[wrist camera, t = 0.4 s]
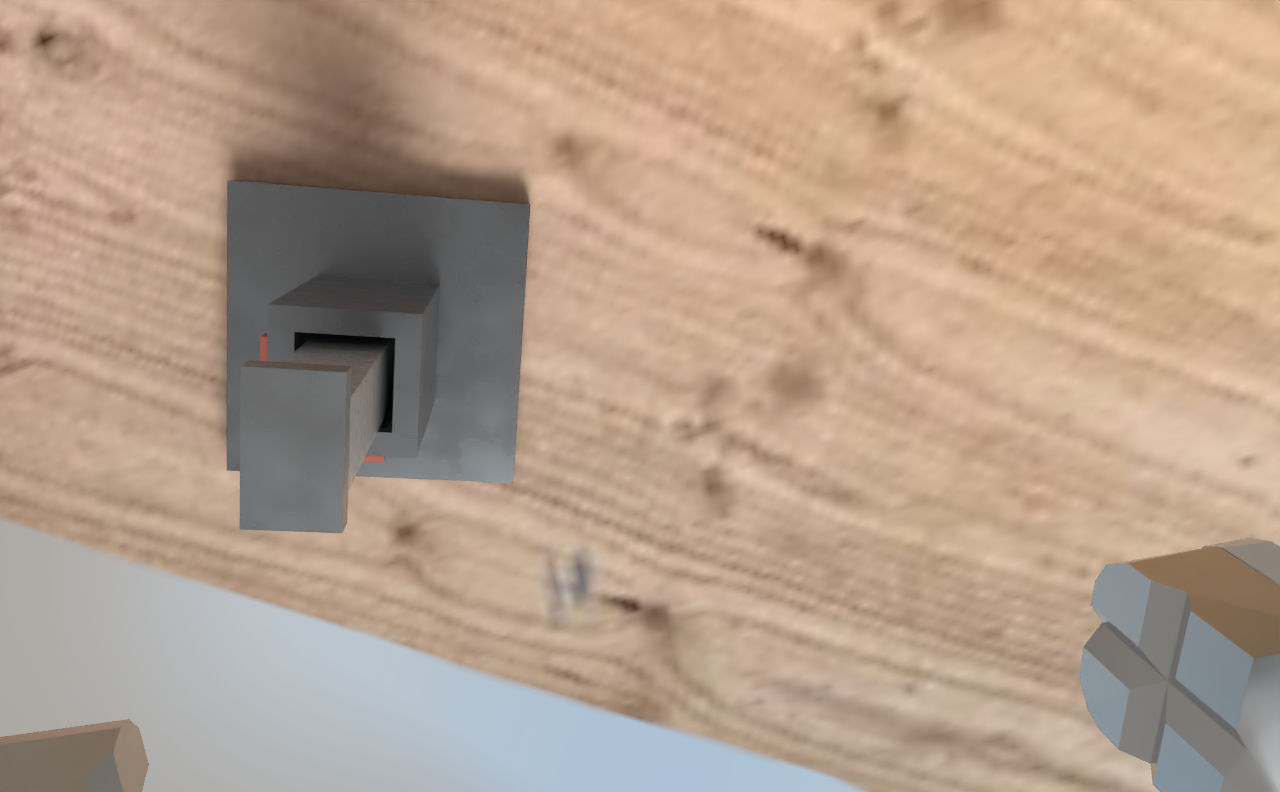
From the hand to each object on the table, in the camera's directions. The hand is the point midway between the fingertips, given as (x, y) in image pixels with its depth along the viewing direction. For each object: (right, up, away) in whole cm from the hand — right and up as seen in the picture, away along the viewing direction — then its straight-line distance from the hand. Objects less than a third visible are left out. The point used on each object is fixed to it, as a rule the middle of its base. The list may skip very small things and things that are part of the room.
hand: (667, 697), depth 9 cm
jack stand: (-13, +6, +44) cm, 46 cm away
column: (-13, +5, +42) cm, 44 cm away
